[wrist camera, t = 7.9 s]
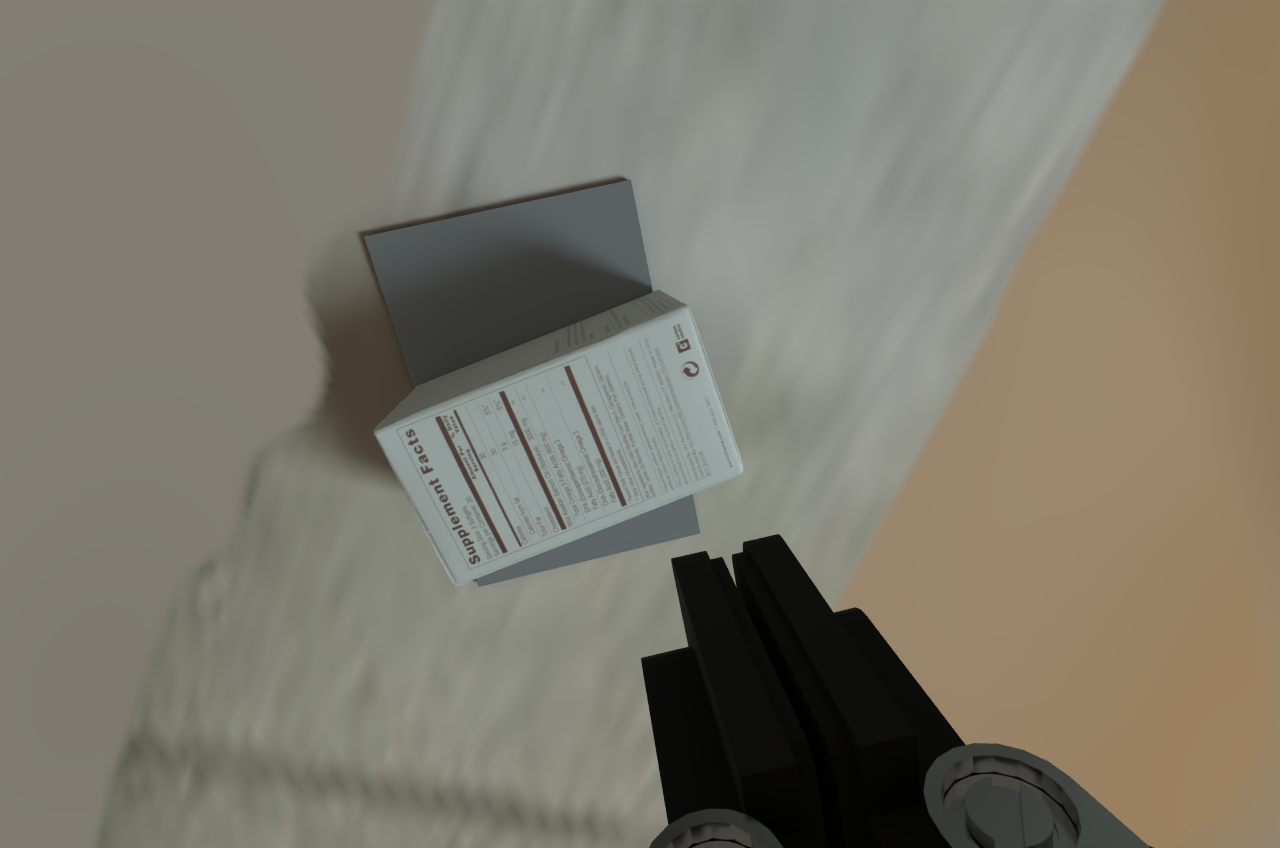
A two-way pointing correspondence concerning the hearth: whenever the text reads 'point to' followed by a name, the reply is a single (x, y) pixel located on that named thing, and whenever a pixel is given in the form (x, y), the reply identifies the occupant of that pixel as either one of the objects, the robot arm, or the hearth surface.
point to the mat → (521, 310)
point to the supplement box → (561, 436)
